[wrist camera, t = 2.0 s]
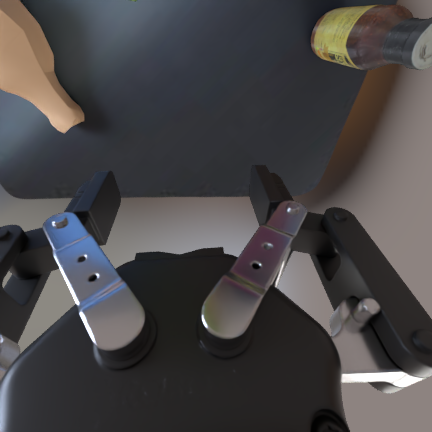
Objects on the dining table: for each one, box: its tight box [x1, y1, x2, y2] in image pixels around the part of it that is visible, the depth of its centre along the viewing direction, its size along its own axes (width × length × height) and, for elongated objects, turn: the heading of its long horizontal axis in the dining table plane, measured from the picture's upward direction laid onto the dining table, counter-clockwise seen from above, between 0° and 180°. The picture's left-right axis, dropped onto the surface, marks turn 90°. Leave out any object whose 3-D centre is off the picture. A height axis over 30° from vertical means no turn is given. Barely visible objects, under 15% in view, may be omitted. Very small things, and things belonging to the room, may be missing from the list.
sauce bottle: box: [311, 5, 432, 70], centre depth 28 cm, size 6×6×20 cm
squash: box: [0, 0, 84, 133], centre depth 32 cm, size 11×20×9 cm, turn 22°
